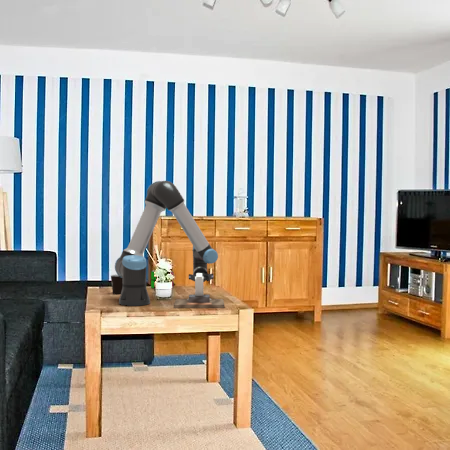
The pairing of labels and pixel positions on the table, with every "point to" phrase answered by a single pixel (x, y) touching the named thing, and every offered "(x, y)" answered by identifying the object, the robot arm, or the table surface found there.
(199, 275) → the switch lever
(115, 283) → the coffee mug
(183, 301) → the switch base
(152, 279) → the puzzle cube
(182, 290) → the table surface
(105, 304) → the table surface
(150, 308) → the table surface
